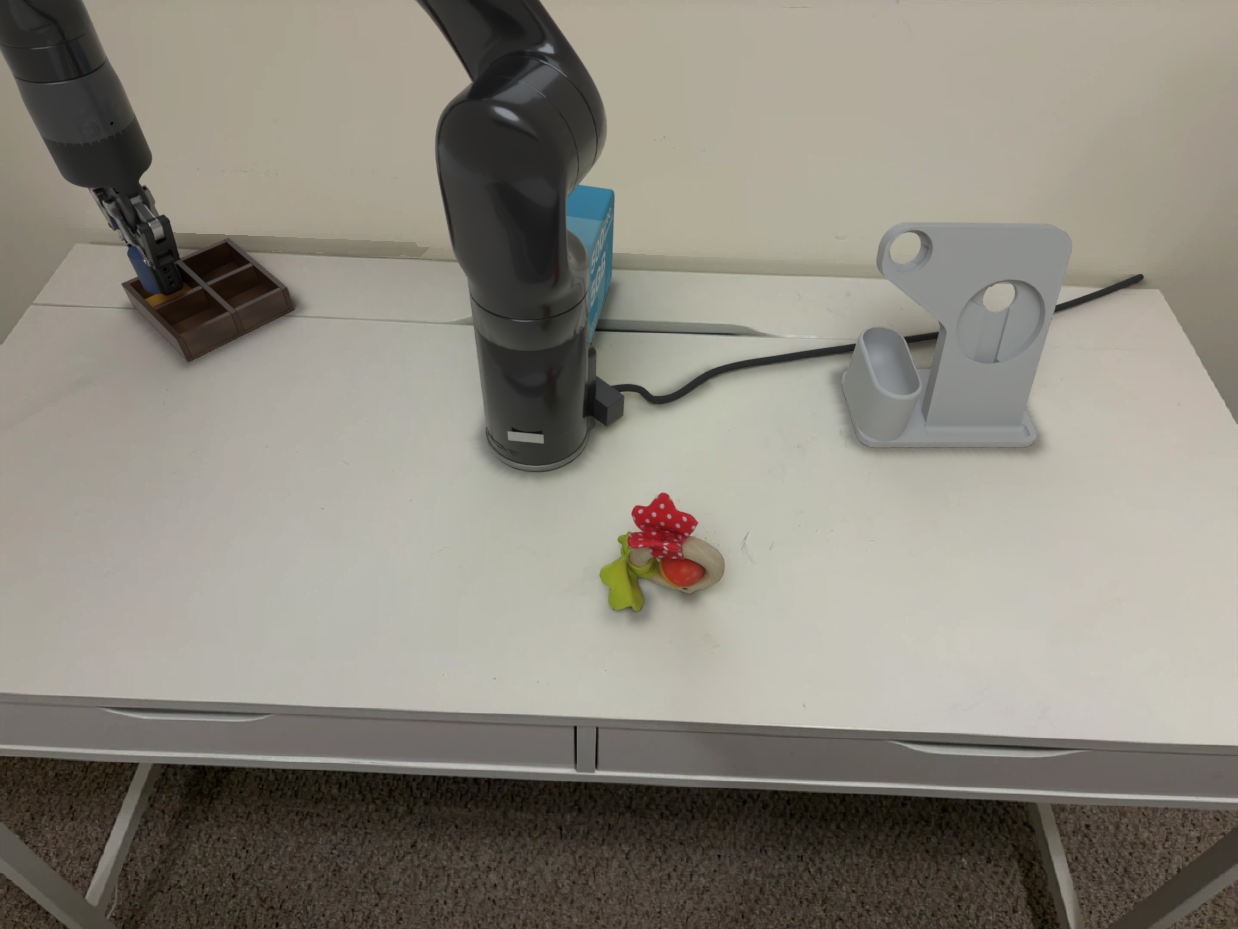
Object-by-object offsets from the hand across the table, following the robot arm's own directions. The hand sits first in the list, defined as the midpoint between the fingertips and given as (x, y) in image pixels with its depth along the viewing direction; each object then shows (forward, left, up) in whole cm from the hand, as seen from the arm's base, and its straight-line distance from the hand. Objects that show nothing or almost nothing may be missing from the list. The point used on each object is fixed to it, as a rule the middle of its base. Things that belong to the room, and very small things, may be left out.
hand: (162, 280), depth 83 cm
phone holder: (-45, +63, -3) cm, 78 cm away
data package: (-30, +29, -4) cm, 42 cm away
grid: (-3, +3, -3) cm, 5 cm away
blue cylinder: (0, 0, 0) cm, 0 cm away
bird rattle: (-11, +58, -3) cm, 59 cm away
